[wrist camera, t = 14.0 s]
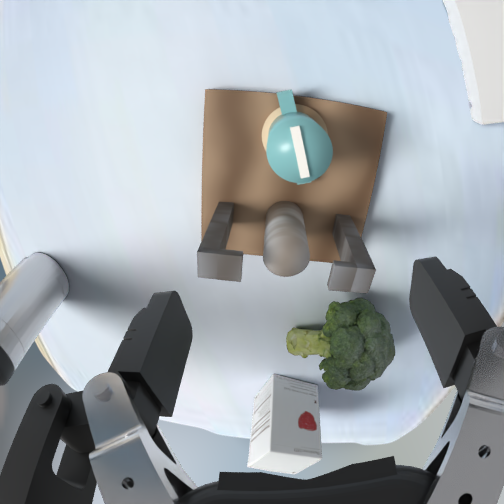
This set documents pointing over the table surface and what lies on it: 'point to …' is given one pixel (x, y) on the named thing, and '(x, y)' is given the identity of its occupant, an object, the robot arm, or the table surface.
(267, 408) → the supplement box
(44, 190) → the table surface
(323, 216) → the board with gray uprights
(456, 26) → the food packaging
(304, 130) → the teal rounded body
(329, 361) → the vegetable
